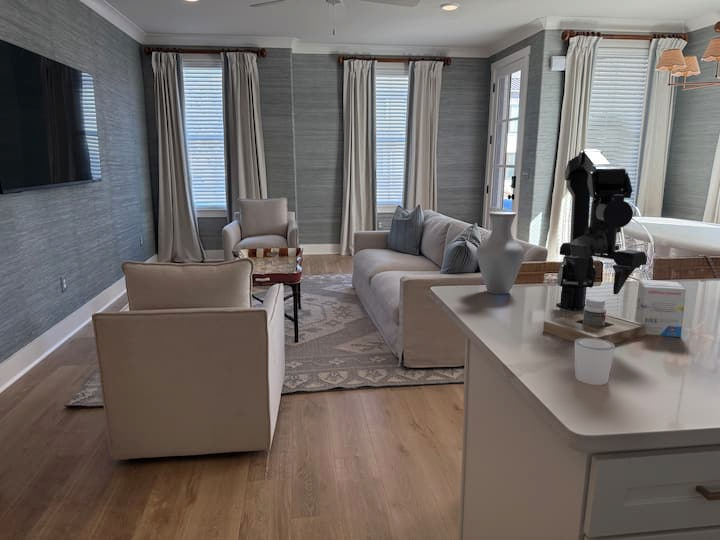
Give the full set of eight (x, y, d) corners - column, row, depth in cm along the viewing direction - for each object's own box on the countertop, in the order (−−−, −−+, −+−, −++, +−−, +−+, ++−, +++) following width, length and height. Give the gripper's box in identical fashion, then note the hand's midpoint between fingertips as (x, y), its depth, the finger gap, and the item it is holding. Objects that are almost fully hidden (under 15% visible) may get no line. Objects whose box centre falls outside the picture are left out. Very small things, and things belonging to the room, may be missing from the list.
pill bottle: (606, 337, 119) (609, 302, 117) (584, 336, 119) (587, 301, 118) (600, 330, 123) (604, 297, 121) (580, 329, 124) (582, 296, 122)
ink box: (672, 327, 126) (678, 280, 123) (681, 338, 118) (687, 288, 115) (633, 323, 128) (638, 278, 126) (639, 334, 121) (644, 285, 118)
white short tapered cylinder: (565, 372, 99) (567, 337, 97) (599, 370, 99) (602, 336, 98) (583, 387, 92) (586, 350, 91) (619, 385, 93) (623, 349, 91)
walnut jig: (592, 320, 131) (593, 310, 131) (645, 335, 119) (646, 324, 119) (543, 331, 123) (543, 320, 122) (594, 349, 111) (595, 337, 110)
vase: (474, 286, 169) (477, 210, 164) (519, 287, 166) (524, 210, 161) (475, 296, 155) (478, 214, 150) (524, 299, 152) (529, 215, 147)
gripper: (545, 221, 120) (541, 286, 123) (618, 229, 104) (611, 303, 107) (577, 218, 125) (572, 281, 128) (652, 226, 109) (644, 297, 112)
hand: (597, 290), depth 119 cm, fingers open, 9 cm apart
